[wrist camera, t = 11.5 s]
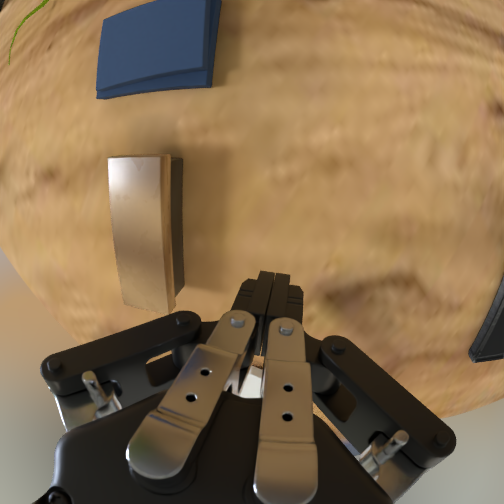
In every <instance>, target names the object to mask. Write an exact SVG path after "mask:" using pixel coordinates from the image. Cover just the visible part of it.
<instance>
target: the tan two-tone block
mask: <svg viewBox="0 0 504 504" xmlns="http://www.w3.org/2000/svg"><path fill="white" fill-rule="evenodd" d="M182 172H183V159H182V158H171V155H170V154H137V155H118V156H112V157H109V158H108V177H109V197H110V211H111V222H112V232H113V241H114V249H115V256H116V263H117V269H118V276H119V281H120V287H121V292H122V298H123V303H124V304H125V305H129V306H132V307H136V308H140V309H144V310H148V311H152V312H156V313H160V314H164V315H169V314H170V313H171V312H172V310H173V309H174V308H175V306H176V301H175V297H176V296H177V294H178V293H179V292H180V290H181V289H182V288H183V286H184V266H183V235H182Z"/></svg>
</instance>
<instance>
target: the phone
mask: <svg viewBox="0 0 504 504" xmlns="http://www.w3.org/2000/svg"><path fill="white" fill-rule="evenodd" d="M469 357H470V359H471V360H472V362H473V363H477V362H485V361H492V360H499V359H503V358H504V277H503V280H502V283H501V285H500V288H499V290H498V293H497V295H496V298H495V300H494V302H493V305H492V307H491V309H490V311H489V313H488V316H487V318H486V320H485V322H484V324H483V326H482V328H481V330H480V332H479V334H478V336H477V337H476V339H475V341H474V343H473V345H472V347H471V348H470V350H469Z"/></svg>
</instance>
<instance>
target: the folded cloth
mask: <svg viewBox="0 0 504 504" xmlns="http://www.w3.org/2000/svg"><path fill="white" fill-rule="evenodd" d="M221 2H222V1H221V0H156V1H153V2H150V3H146V4H143V5H140V6H137V7H135V8H132V9H129V10H126V11H124V12H121V13H119V14H116V15H114V16H111V17H109V18H107V19H104V20H103V26H102V32H101V39H100V47H99V56H98V67H97V81H96V91H97V97H96V99H110V98H115V97H121V96H127V95H133V94H140V93H148V92H156V91H166V90H177V89H192V88H211V87H212V77H213V67H214V57H215V48H216V39H217V31H218V23H219V16H220V8H221Z"/></svg>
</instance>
